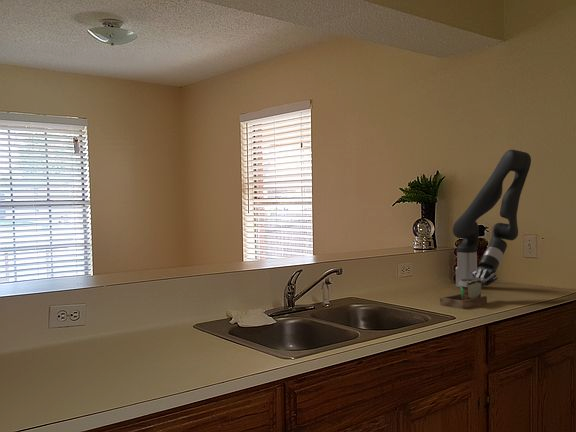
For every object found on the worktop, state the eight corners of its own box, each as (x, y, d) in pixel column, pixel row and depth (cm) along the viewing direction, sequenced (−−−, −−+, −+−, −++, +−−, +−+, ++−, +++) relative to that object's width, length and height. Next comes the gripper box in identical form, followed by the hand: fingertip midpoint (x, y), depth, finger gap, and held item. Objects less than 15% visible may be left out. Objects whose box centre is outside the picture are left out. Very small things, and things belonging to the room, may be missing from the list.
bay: (440, 305, 219) (440, 297, 219) (463, 300, 229) (463, 293, 229) (463, 309, 211) (463, 301, 210) (486, 303, 220) (486, 296, 220)
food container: (468, 300, 227) (468, 277, 227) (482, 302, 223) (482, 278, 223) (453, 304, 219) (452, 280, 219) (467, 306, 214) (466, 281, 214)
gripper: (473, 253, 234) (457, 284, 227) (501, 255, 224) (485, 287, 217) (480, 264, 238) (465, 295, 230) (508, 266, 227) (493, 299, 220)
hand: (475, 291), depth 223 cm, fingers closed
